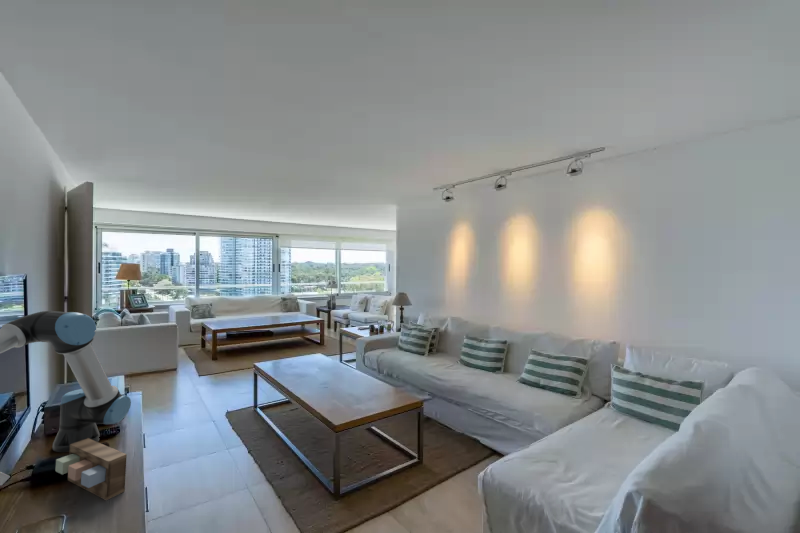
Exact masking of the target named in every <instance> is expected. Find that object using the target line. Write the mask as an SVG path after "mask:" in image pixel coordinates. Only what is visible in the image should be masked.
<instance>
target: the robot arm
mask: <svg viewBox="0 0 800 533" xmlns="http://www.w3.org/2000/svg"><path fill="white" fill-rule="evenodd" d="M1 326H2V328H1V329H0V354H2V353H5V352H6V351H9V350H11V349H13V348H21V347H24V346H26V345H29V344H32V343H39V342H40V343H50V344H51V346H52V348H53V350H54V352H55V353H57V354H59V355H63V356H64V358H65V360H66V362H67V364H68V366H69V367H70V369H71V371H72V373H73V376H74V377H75V379H76V380H77V382H78V385H79V387H80V388H79V389H75V390H71V391H68V392H66V393H65V394H63V395H62V396H61V400H60V403H59V404H60V406H59V407H60V410H59V430H58V432H57V434H56V436H55V438H54V440H53V442H52V452H53V451H54V452H55V453H69V451H70V444H72V443H75V442H78V441H81V440H84V439H87V438H89V439H91V440H94V441H96V442H98V443H99V441H100V438H99V437H101V434H100V431H99V429H98V426H97V424H101V425H102V424H103V425H115V424H116V425H117V424H119V423H120V422H121V421H123V419H125V418H126V416H127V415H128V413H129V411H130V409H131V406H132V405H131V404H132V400H131V398H130V397H129V396H128V395H126V394H121V392H120V389H119V388H118V387H117V386H116V385H112V384H111V381H110V380H109V378H108V376H107V374H106V372H105V370H104V368H103V366H102V363H101V362H100V360H99V357H98V355H97V353H96V351H95V349H94V347H93V345H92V342H94V339H95V338H94V337H95V335H96V332H95V331H97V325H96V322H95V320H94V319H93V318H92V317H91V316H90V315H88V314H85V313H81V312H76V311H75V312H74V311H69V312H68V311H67V312H65V311H54V310H43V311H38V312H35V313H31V314H27V315H24V316H22V317H19V318H17V319H14V320H12V321H9V322H7V323H5V324H2V325H1ZM9 478H11V476H10V475H9V474H6V473H5V472H2V471H0V486H1V487H2V486H3V485H4V484H5V483H6V482H7V481H8V480H9Z"/></svg>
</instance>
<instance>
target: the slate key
mask: <svg viewBox="0 0 800 533" xmlns="http://www.w3.org/2000/svg"><path fill="white" fill-rule="evenodd" d="M105 478H106V468H105V467H103V466H100V465H98V466H95V467H93V468H90V469H88V470H86V471H83V472H82V474H81V485H83V486H85V487H87V488H90V487H92V486H94V485H97V484H99V483H101V482H103V481H105Z"/></svg>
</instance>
